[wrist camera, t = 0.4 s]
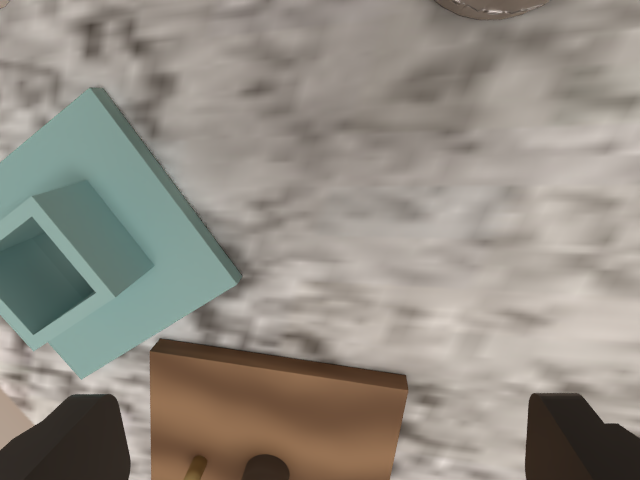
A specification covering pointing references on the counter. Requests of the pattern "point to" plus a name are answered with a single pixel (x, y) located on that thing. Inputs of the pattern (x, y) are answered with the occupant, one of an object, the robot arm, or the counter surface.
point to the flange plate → (98, 239)
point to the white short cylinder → (3, 3)
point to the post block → (269, 416)
